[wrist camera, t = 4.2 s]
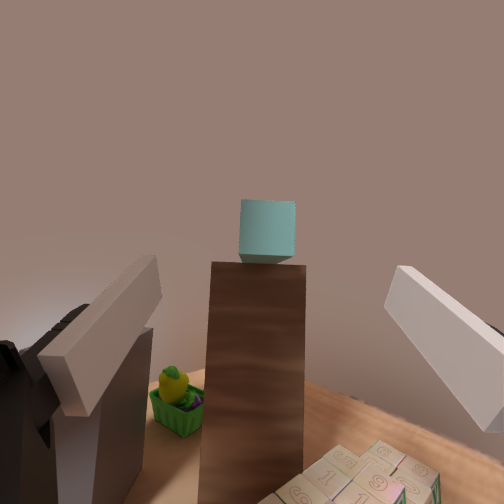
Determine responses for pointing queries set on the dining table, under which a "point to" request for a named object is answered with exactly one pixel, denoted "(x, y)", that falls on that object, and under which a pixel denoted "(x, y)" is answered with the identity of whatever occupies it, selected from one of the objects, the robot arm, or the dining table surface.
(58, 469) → the step
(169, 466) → the dining table surface
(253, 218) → the bar
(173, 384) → the fruit basket
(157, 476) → the dining table surface
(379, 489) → the stack of blocks
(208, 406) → the stand
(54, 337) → the robot arm
